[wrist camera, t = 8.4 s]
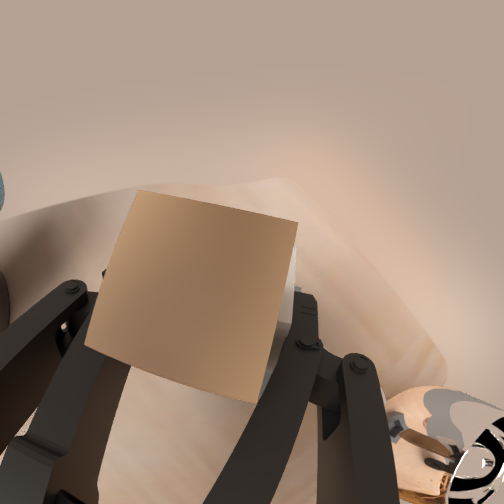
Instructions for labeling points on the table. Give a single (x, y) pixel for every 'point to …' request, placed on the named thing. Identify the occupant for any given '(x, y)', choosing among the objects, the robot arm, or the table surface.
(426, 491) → the wineglass
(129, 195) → the table surface
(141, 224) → the wooden block
